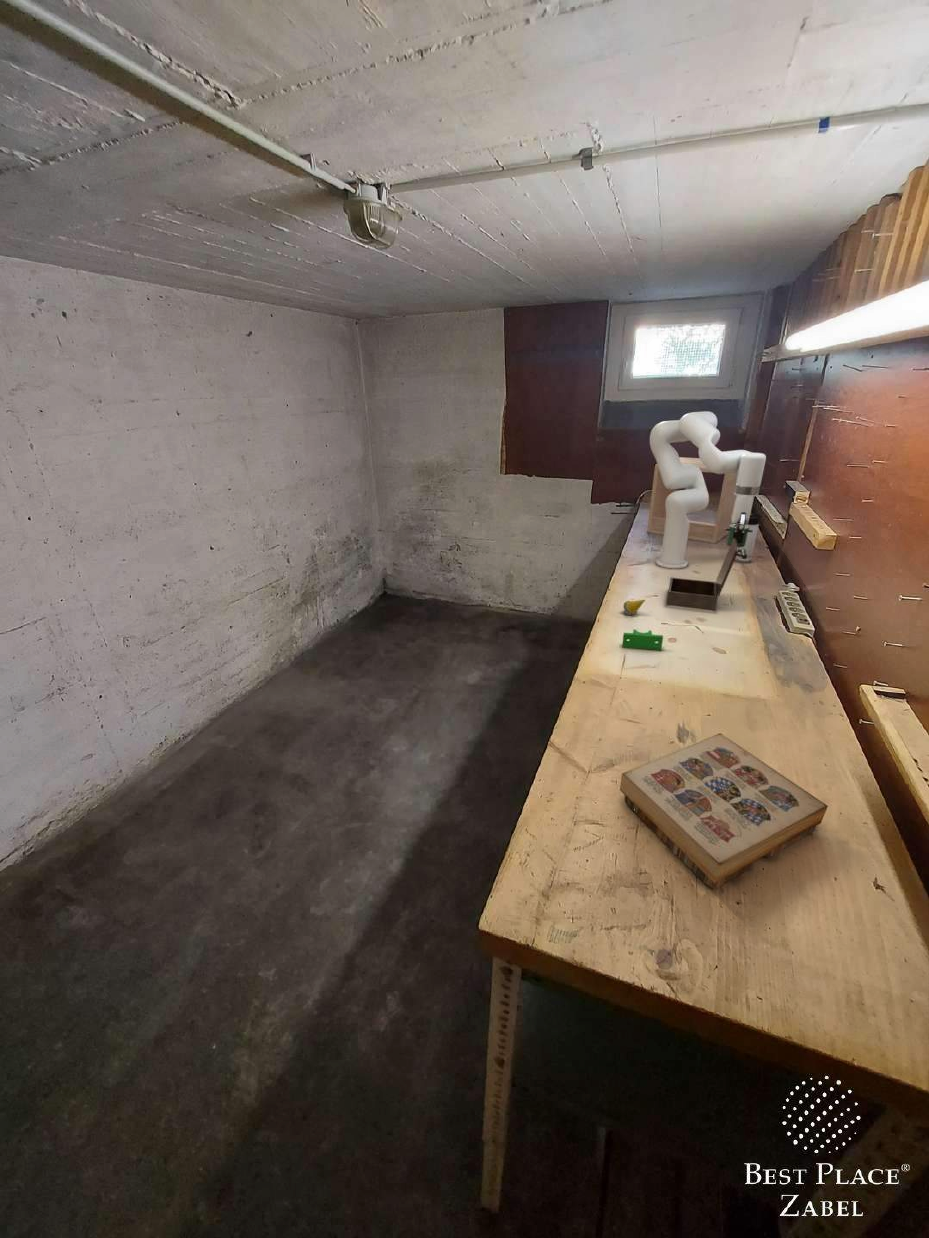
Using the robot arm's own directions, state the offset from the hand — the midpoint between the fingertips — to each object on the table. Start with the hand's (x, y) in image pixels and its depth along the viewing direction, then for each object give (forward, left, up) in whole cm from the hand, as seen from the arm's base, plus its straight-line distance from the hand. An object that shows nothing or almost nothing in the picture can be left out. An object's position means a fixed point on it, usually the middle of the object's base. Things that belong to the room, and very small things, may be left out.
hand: (736, 539), depth 176 cm
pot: (0, 0, -2) cm, 2 cm away
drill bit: (+8, -46, -19) cm, 50 cm away
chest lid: (+12, -14, -5) cm, 19 cm away
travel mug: (-22, +28, -19) cm, 40 cm away
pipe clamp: (+28, -56, -19) cm, 65 cm away
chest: (+6, -21, -19) cm, 29 cm away
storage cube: (-69, +39, -19) cm, 82 cm away
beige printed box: (+86, -80, -19) cm, 119 cm away
